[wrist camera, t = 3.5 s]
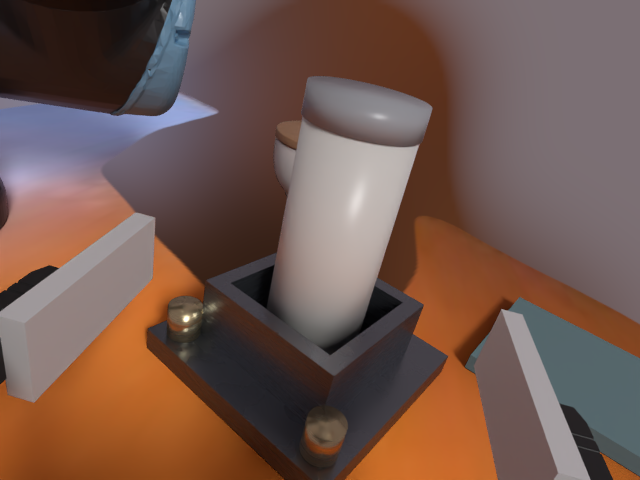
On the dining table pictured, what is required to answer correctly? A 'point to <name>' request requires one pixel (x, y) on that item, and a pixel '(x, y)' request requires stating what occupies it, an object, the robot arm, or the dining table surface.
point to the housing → (296, 372)
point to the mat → (588, 380)
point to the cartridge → (342, 204)
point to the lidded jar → (285, 151)
